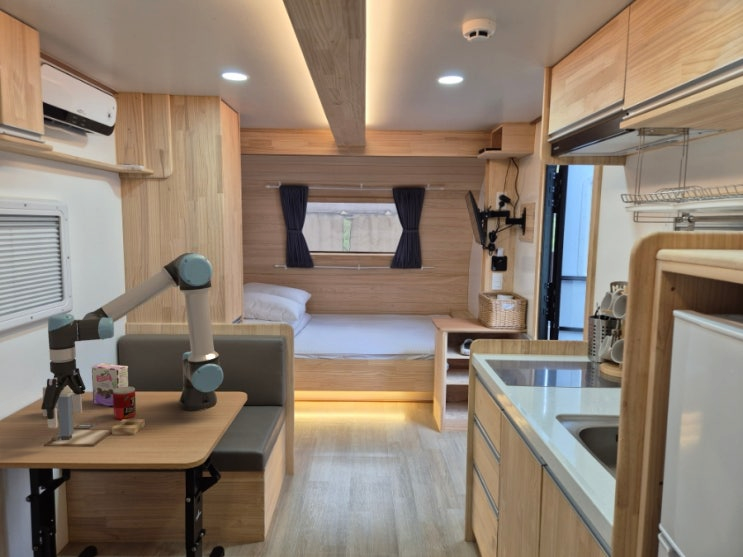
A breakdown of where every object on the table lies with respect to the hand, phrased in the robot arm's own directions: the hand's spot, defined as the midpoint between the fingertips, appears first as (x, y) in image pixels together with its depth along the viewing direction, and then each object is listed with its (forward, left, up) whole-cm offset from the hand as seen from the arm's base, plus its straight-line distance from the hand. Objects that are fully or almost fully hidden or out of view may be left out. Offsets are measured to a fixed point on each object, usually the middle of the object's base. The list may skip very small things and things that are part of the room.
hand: (65, 419), depth 164 cm
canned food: (-9, -22, -8) cm, 25 cm away
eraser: (0, 0, -7) cm, 7 cm away
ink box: (+18, -23, -8) cm, 30 cm away
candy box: (+4, -36, -8) cm, 37 cm away
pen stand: (-17, -9, -7) cm, 21 cm away
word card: (+1, -12, -7) cm, 14 cm away
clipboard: (-4, -2, -7) cm, 9 cm away
